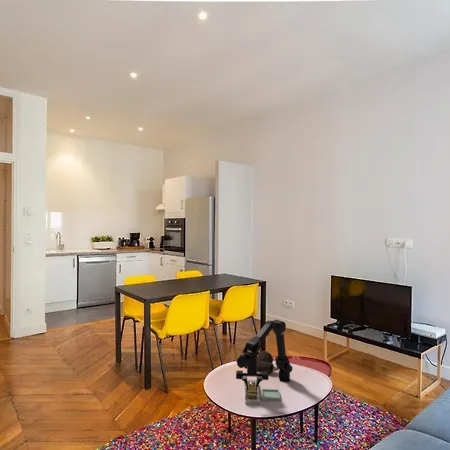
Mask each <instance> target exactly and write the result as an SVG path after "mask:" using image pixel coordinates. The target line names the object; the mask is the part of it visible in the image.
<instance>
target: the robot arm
mask: <svg viewBox="0 0 450 450" xmlns="http://www.w3.org/2000/svg"><path fill="white" fill-rule="evenodd" d="M286 325H287V324H286V322H285V321H282V320H278V319H274V320H267V321H266V322H265V324H264V325H263V326H262V327H261V329H260V330H259V331H258V332H257V334H256V335H255V336H253V337H251V338H250V339H248V340H247V342H246V343H245V345H244V347H243V350H242V354H240V355H239V357H237V359H236V365H237V367H238V368H240V369H243V368H244V370H245V369H246V372H243V370H236V371H235V379H236V380H241V381H243V383H244V382H245V384H246V387H247V390H248V382H247V380H248V377H250V378H251V377H252V378H253V377H254V378H256V379H255V380H256V390H257V387H258V388H259V385H260V384H261V382H263V381H268V380H270V378H269V377H270V376H269V373H268V372H267V371H262V370H260V372H258V370H257V357H258V355H259V354H260V352H259V351H260V350H261V347H262V344H263V341H264V340H265V339H266V337H267V336H268V335H269V333H270V332H272V331H273V332H274V334H275V339H276V340H275V341H276V349H277V356H276V358H275V359H274V361H275V365H276V368H277V369H278V379H279V382H291V373H292V371H293V366H292V365H291V364H290V359H289V357H288V356H287V351H286V344H285V335H284V334H285V332H286V331H287V330H286V328H287V326H286Z"/></svg>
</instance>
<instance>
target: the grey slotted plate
mask: <svg viewBox="0 0 450 450" xmlns="http://www.w3.org/2000/svg"><path fill="white" fill-rule="evenodd" d="M256 380H257V379H247V382H248V383H249V382H255V383H256ZM243 384H244V385H243V386H244V403H245V405H260V403H261V402H260V401H261V399H260V398H261V396H260V391H259V390H260V389H259V386H258V387H257V390H256V394H248V390H247V387H246V384H245V382H244V381H243Z"/></svg>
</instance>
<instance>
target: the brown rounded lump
mask: <svg viewBox="0 0 450 450" xmlns="http://www.w3.org/2000/svg"><path fill="white" fill-rule="evenodd" d="M259 353H260V354H259V355H257V371H267V372H268V374H272V373H273V371H274V368H275V366H274V358H273V355H272V354H271V353H270V352H267V351H260V352H259Z"/></svg>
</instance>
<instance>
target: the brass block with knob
mask: <svg viewBox="0 0 450 450" xmlns="http://www.w3.org/2000/svg"><path fill="white" fill-rule="evenodd" d="M247 394H257V393H256V383H255V382H249V383H248V392H247Z"/></svg>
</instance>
